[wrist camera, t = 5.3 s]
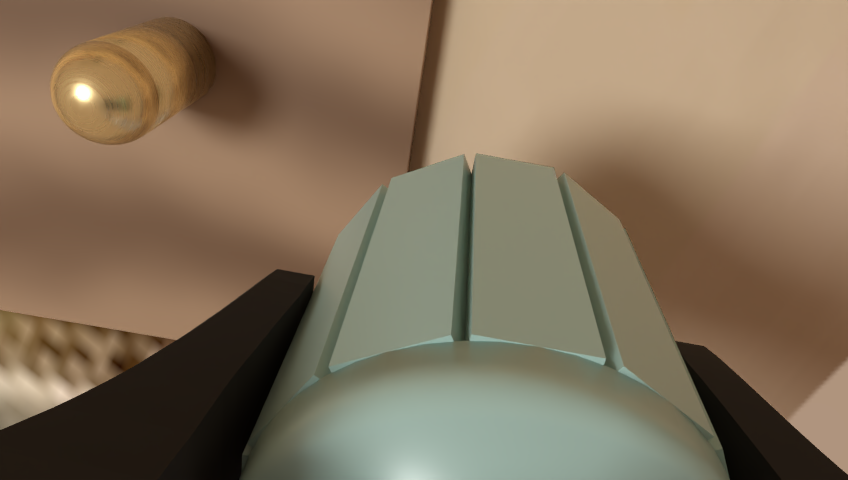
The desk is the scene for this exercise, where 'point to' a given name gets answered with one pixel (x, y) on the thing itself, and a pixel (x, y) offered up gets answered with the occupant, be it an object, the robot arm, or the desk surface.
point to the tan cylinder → (131, 80)
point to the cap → (483, 344)
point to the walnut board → (200, 156)
